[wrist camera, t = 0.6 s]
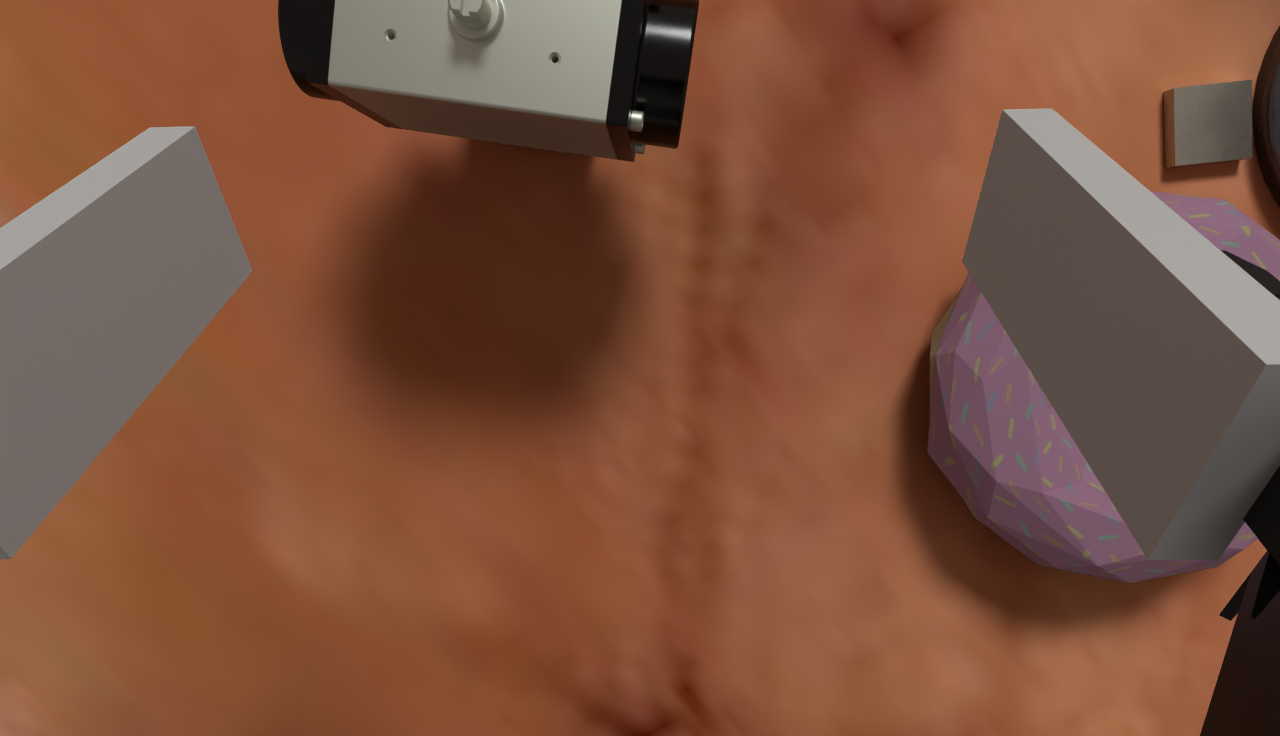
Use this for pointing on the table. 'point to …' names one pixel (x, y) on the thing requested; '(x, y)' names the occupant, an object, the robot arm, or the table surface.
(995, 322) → the donut
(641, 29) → the security camera
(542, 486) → the table surface
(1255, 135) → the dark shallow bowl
